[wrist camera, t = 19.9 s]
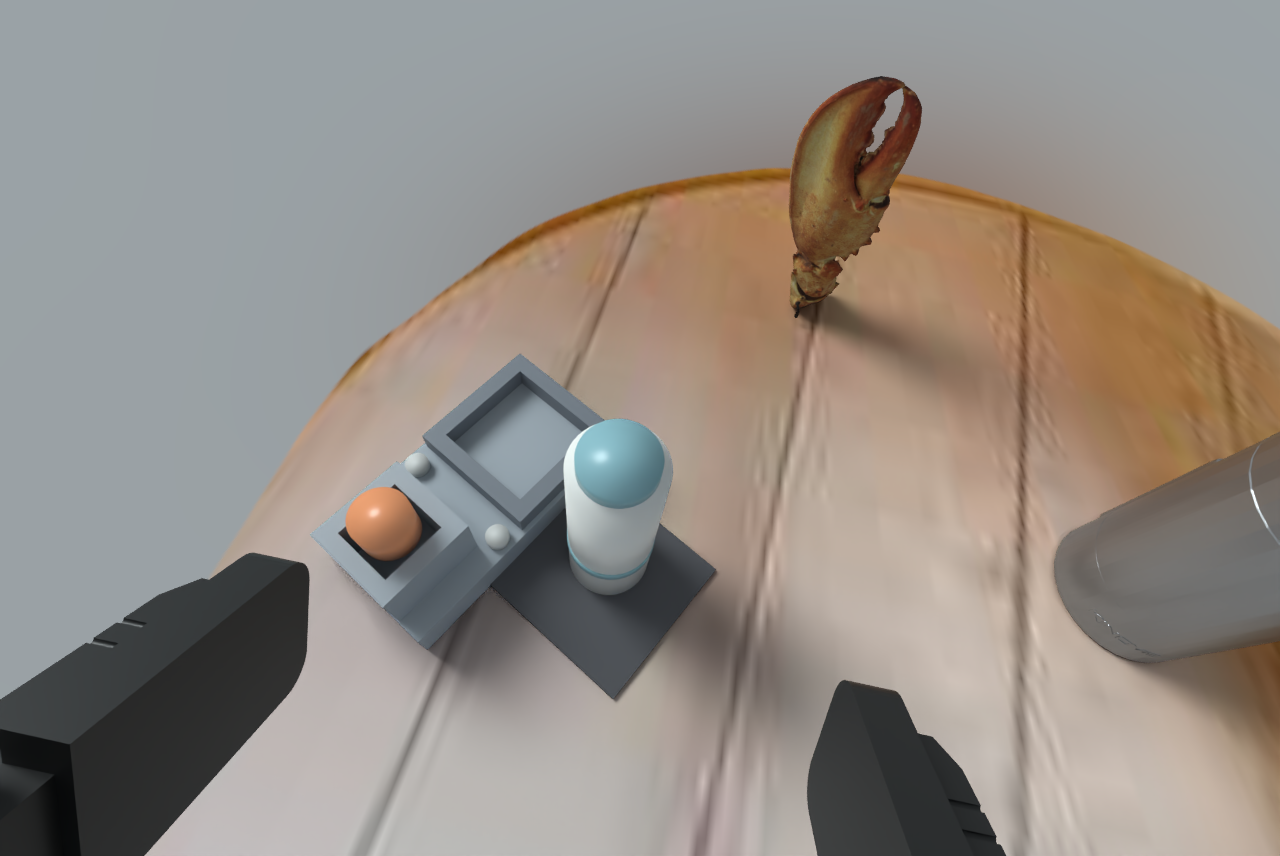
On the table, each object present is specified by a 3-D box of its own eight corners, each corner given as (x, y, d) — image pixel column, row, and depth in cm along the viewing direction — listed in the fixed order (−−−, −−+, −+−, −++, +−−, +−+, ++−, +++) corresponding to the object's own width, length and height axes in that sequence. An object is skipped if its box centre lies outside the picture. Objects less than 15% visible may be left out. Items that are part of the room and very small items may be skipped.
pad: (598, 474, 43) (598, 473, 43) (715, 570, 40) (715, 569, 40) (490, 585, 39) (490, 584, 39) (613, 699, 36) (613, 698, 36)
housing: (524, 380, 46) (517, 330, 41) (617, 455, 44) (623, 412, 38) (328, 550, 39) (288, 516, 34) (427, 649, 37) (402, 630, 31)
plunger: (395, 493, 35) (383, 475, 33) (434, 529, 34) (424, 513, 32) (347, 534, 34) (331, 518, 32) (387, 573, 33) (373, 560, 31)
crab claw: (740, 304, 51) (820, 61, 33) (767, 264, 53) (855, 18, 36) (817, 343, 50) (944, 113, 32) (842, 301, 52) (972, 64, 34)
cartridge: (605, 502, 42) (614, 389, 30) (664, 552, 40) (699, 454, 28) (551, 559, 40) (537, 461, 27) (612, 613, 38) (625, 536, 26)
